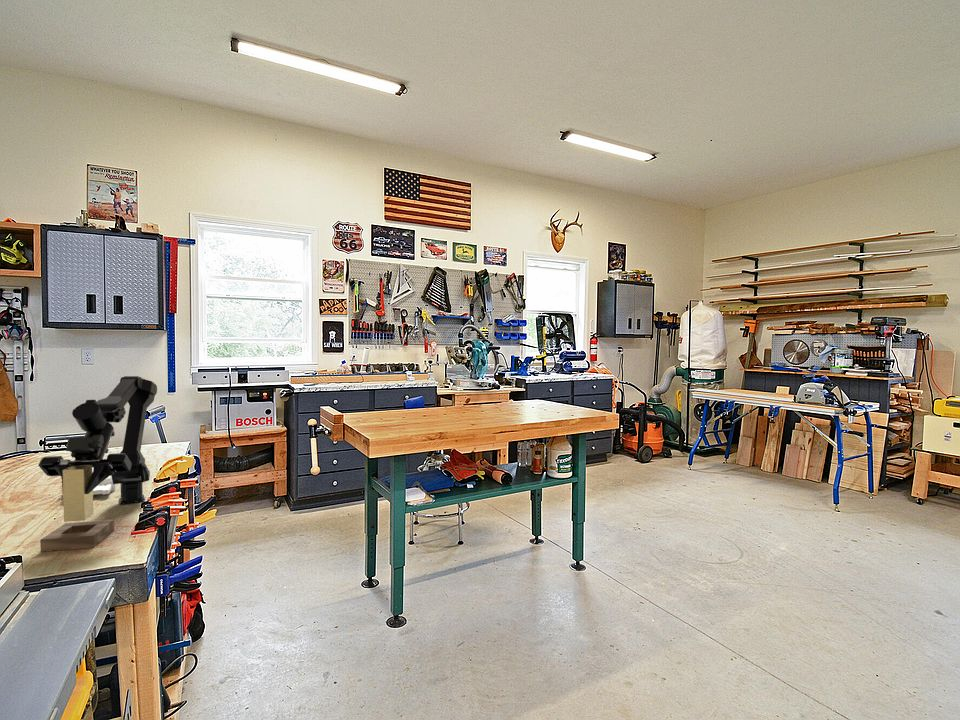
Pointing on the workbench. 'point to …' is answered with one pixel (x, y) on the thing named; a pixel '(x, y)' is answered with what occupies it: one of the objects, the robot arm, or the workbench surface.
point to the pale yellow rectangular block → (77, 493)
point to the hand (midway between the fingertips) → (75, 494)
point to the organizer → (105, 486)
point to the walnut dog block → (77, 535)
